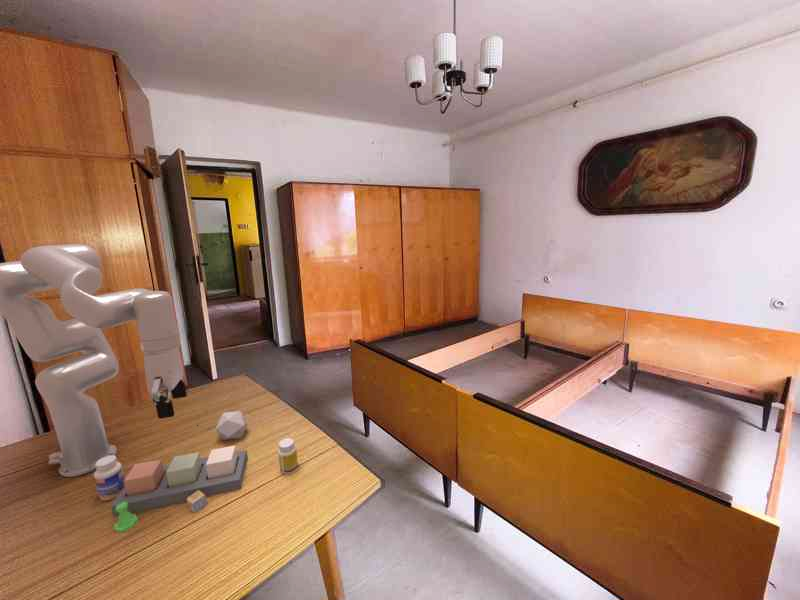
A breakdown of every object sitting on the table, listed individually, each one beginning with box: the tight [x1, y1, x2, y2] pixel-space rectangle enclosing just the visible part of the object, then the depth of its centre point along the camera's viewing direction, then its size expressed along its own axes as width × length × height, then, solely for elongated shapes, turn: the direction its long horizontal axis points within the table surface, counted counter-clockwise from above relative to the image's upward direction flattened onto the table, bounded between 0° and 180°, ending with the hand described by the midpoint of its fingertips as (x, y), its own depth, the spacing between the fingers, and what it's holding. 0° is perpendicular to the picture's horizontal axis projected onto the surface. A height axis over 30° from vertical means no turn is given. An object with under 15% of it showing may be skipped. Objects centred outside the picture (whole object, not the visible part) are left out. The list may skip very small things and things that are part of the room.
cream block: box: [206, 445, 238, 479], centre depth 89 cm, size 6×6×5 cm
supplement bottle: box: [278, 437, 299, 475], centre depth 92 cm, size 5×5×8 cm
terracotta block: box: [124, 459, 165, 496], centre depth 84 cm, size 6×6×5 cm
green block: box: [166, 452, 202, 487], centre depth 87 cm, size 6×6×5 cm
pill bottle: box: [93, 455, 126, 501], centre depth 85 cm, size 5×5×10 cm
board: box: [110, 449, 249, 518], centre depth 88 cm, size 28×12×3 cm, turn 106°
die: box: [214, 410, 249, 441], centre depth 107 cm, size 8×9×10 cm
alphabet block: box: [186, 490, 208, 514], centre depth 81 cm, size 3×3×3 cm
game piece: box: [114, 502, 139, 533], centre depth 76 cm, size 4×4×6 cm
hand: (173, 406), depth 83 cm, fingers open, 9 cm apart
